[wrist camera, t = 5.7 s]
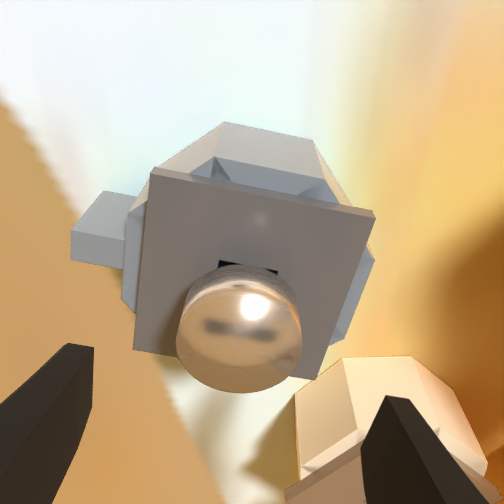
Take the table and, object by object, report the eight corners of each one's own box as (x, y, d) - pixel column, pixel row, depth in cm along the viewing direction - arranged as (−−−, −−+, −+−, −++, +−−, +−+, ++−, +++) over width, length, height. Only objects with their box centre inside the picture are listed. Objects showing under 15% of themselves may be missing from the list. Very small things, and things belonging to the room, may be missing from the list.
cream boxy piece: (264, 416, 26) (264, 502, 21) (379, 330, 23) (406, 410, 18) (384, 494, 29) (406, 582, 25) (500, 427, 26) (548, 516, 21)
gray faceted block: (372, 152, 18) (406, 201, 14) (315, 318, 22) (328, 396, 18) (112, 97, 17) (61, 131, 13) (102, 279, 21) (62, 352, 17)
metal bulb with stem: (299, 203, 18) (317, 308, 12) (279, 277, 20) (285, 401, 14) (211, 186, 18) (184, 284, 12) (198, 262, 20) (168, 382, 14)
